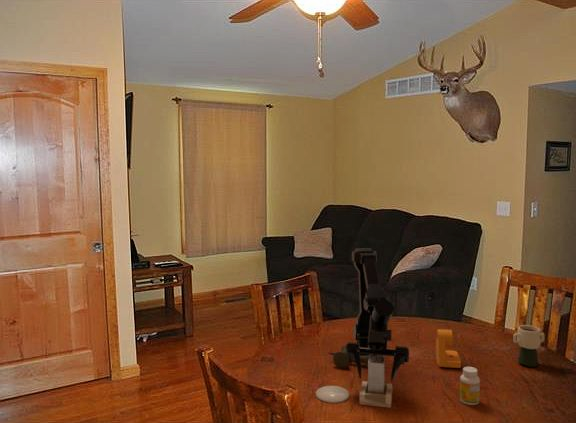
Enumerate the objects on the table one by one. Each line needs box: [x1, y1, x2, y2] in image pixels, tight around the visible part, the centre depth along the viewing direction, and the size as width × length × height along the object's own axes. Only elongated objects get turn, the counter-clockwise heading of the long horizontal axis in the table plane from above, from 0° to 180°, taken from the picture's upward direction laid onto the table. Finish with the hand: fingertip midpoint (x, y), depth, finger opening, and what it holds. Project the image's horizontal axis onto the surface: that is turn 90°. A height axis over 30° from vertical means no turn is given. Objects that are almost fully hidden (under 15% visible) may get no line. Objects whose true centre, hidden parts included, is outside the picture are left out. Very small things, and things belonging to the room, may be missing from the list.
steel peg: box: [367, 357, 385, 395], centre depth 142 cm, size 4×4×12 cm
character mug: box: [512, 324, 545, 368], centre depth 165 cm, size 11×7×13 cm, turn 92°
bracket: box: [435, 328, 462, 369], centre depth 167 cm, size 11×7×12 cm, turn 169°
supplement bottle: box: [459, 366, 481, 406], centre depth 140 cm, size 5×5×10 cm
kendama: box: [327, 344, 385, 369], centre depth 168 cm, size 6×10×20 cm
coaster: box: [315, 385, 350, 404], centre depth 145 cm, size 10×10×1 cm
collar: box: [359, 380, 393, 408], centre depth 142 cm, size 9×9×3 cm
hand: (375, 379), depth 141 cm, fingers open, 9 cm apart
